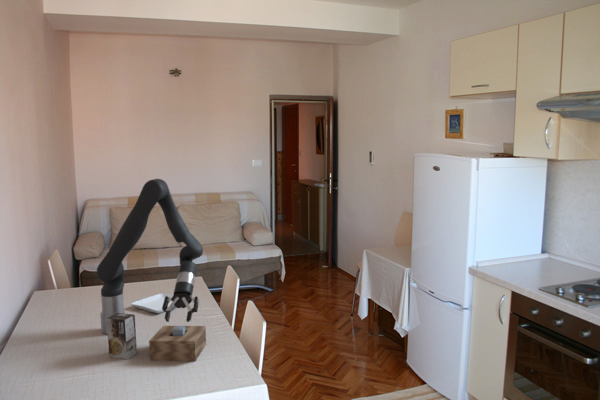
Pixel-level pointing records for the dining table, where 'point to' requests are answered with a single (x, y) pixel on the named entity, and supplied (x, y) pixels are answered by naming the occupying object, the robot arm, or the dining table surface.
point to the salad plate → (152, 303)
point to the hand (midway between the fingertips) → (177, 321)
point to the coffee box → (121, 335)
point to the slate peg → (179, 331)
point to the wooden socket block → (177, 344)
